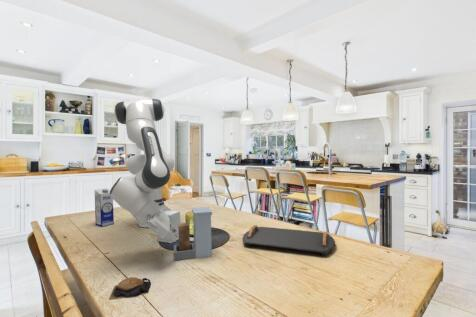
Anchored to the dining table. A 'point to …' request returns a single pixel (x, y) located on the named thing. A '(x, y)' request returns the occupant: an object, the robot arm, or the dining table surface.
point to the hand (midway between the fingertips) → (176, 235)
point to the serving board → (289, 239)
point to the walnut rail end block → (184, 236)
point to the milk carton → (103, 207)
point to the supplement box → (174, 221)
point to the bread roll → (130, 288)
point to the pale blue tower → (198, 236)
